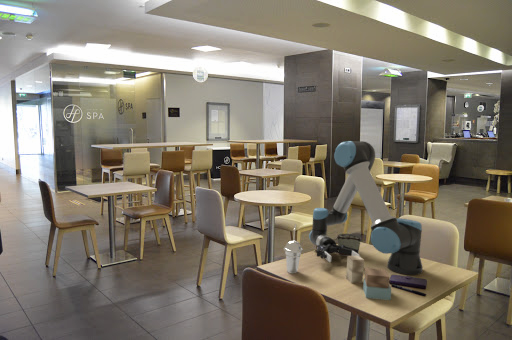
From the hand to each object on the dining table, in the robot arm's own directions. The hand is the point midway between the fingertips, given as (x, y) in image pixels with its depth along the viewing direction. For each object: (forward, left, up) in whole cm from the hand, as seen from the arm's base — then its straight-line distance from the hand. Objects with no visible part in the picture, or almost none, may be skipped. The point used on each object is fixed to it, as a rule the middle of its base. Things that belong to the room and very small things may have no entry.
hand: (344, 258), depth 177 cm
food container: (-4, -27, -6) cm, 28 cm away
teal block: (-10, +21, -7) cm, 25 cm away
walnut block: (-10, +21, -2) cm, 23 cm away
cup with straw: (+23, +4, -6) cm, 24 cm away
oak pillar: (-3, +9, -6) cm, 12 cm away
